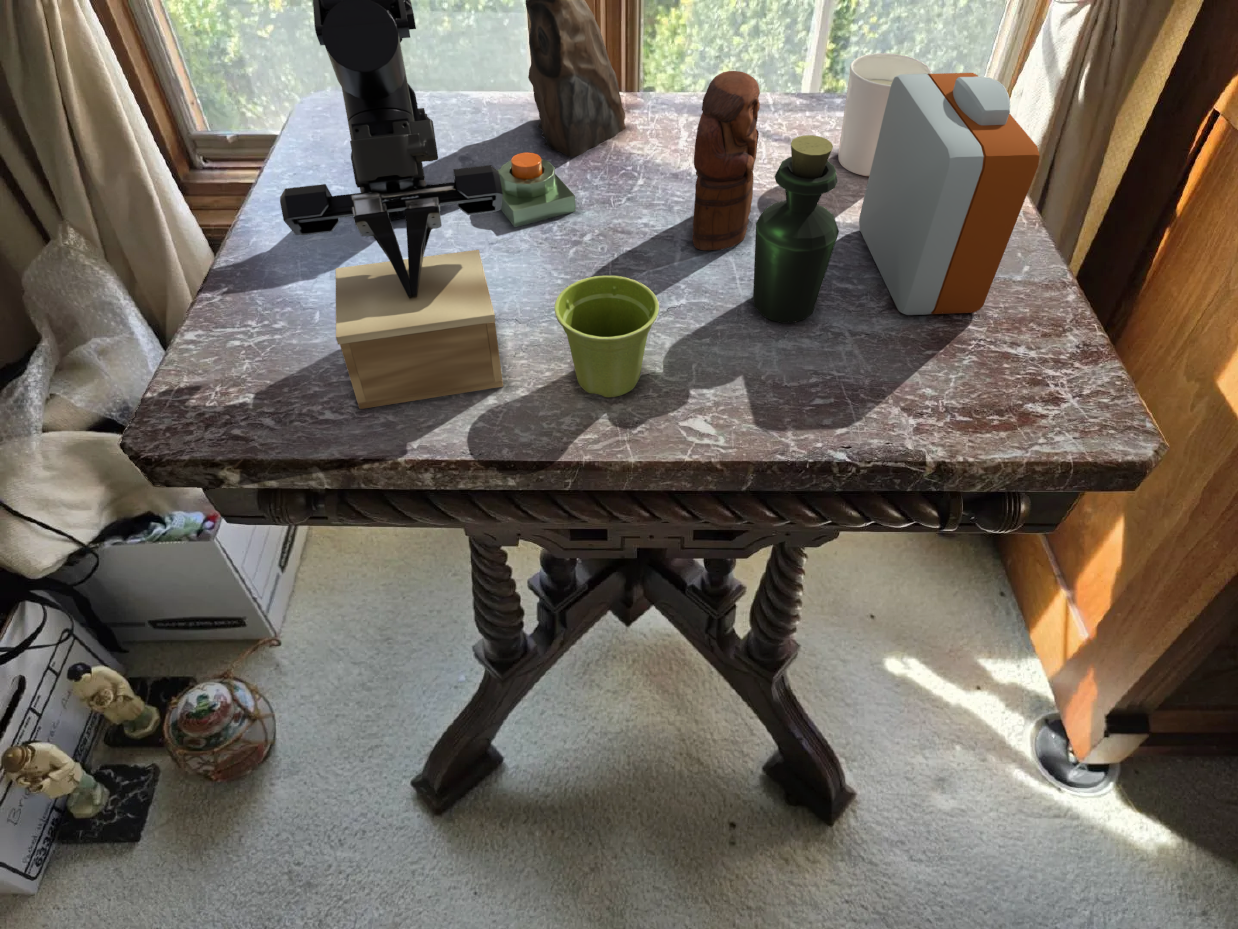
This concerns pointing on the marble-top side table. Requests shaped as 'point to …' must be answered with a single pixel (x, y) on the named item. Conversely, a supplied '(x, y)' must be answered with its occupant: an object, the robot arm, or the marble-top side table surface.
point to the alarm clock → (945, 190)
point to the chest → (423, 365)
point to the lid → (384, 309)
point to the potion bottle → (796, 234)
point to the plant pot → (607, 331)
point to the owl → (572, 77)
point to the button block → (534, 196)
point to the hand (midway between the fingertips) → (412, 296)
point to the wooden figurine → (725, 161)
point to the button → (526, 165)
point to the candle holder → (869, 105)
